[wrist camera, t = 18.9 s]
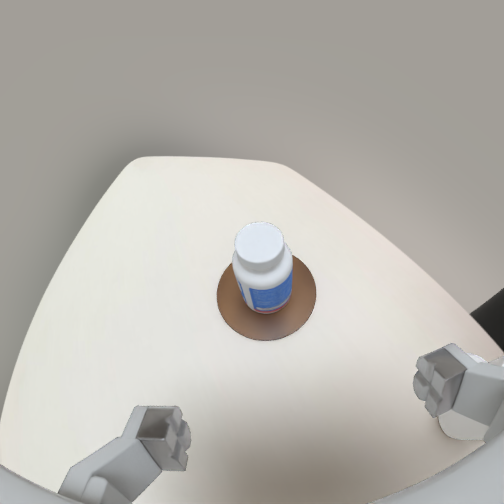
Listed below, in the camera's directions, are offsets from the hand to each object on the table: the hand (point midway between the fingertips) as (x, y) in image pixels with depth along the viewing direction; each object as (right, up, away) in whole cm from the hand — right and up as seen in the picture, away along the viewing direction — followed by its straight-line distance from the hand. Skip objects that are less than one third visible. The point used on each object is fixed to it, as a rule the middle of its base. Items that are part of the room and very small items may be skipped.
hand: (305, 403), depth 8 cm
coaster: (0, 0, +23) cm, 23 cm away
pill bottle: (0, 0, +23) cm, 23 cm away
